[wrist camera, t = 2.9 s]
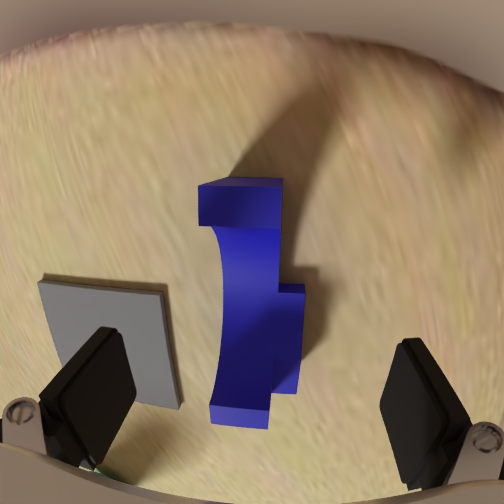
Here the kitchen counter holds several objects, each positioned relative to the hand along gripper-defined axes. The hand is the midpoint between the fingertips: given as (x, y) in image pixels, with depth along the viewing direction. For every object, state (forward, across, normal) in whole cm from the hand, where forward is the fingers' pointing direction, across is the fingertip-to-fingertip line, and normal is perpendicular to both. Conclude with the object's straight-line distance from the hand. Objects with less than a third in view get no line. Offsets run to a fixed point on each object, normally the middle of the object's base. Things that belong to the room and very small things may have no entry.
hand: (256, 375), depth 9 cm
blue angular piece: (+9, 0, 0) cm, 9 cm away
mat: (+9, +12, +6) cm, 16 cm away
